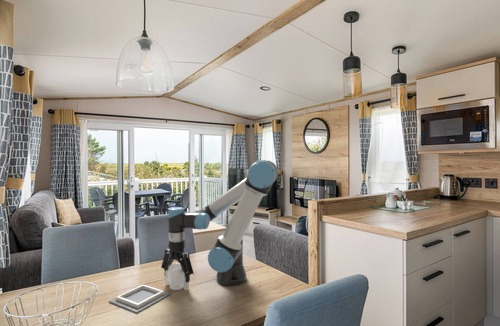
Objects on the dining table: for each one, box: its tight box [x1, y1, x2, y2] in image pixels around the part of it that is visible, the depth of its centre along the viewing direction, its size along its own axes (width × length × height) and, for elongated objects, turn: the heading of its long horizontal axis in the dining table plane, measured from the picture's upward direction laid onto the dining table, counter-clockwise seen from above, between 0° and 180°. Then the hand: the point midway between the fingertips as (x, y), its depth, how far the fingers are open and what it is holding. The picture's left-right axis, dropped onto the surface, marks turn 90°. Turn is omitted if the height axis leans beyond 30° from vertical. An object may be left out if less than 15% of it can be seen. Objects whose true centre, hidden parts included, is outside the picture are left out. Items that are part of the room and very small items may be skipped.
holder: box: [108, 284, 172, 314], centre depth 123 cm, size 18×18×2 cm
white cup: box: [168, 262, 185, 291], centre depth 134 cm, size 8×8×10 cm
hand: (176, 285), depth 134 cm, fingers open, 11 cm apart
